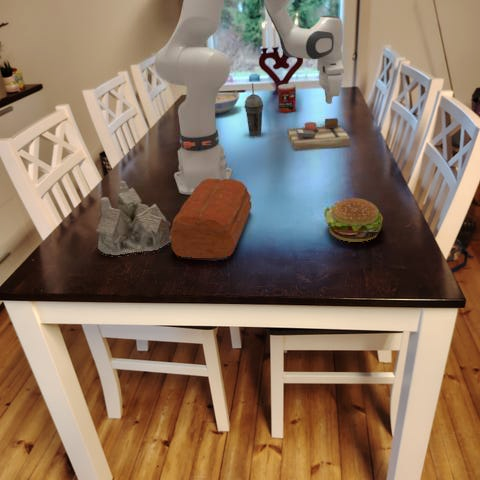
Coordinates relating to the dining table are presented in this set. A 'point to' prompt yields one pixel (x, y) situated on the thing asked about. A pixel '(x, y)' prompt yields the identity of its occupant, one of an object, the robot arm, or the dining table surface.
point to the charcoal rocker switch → (305, 133)
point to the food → (354, 220)
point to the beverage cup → (254, 113)
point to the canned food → (287, 98)
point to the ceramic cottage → (131, 225)
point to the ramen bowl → (226, 100)
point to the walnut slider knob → (331, 123)
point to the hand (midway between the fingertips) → (328, 102)
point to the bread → (211, 219)
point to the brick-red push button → (310, 126)
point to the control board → (319, 138)
